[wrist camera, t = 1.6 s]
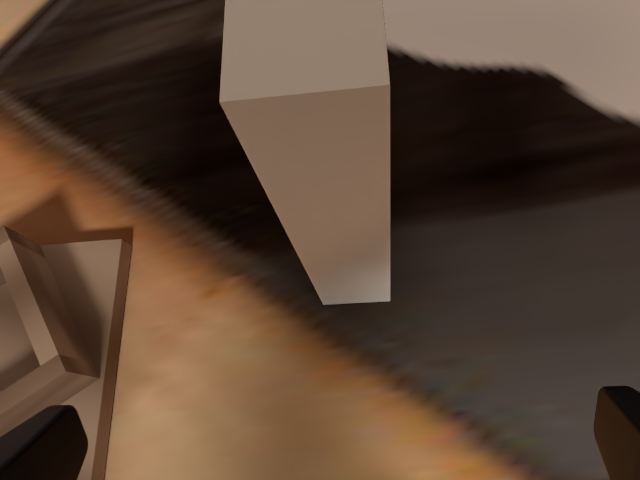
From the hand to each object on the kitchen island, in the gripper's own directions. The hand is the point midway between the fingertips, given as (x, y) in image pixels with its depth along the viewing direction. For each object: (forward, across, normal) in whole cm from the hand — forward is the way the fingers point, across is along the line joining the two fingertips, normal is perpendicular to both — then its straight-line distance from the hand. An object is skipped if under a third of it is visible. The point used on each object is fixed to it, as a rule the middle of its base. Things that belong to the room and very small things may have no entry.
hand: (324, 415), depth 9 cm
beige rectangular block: (+14, 0, +4) cm, 15 cm away
